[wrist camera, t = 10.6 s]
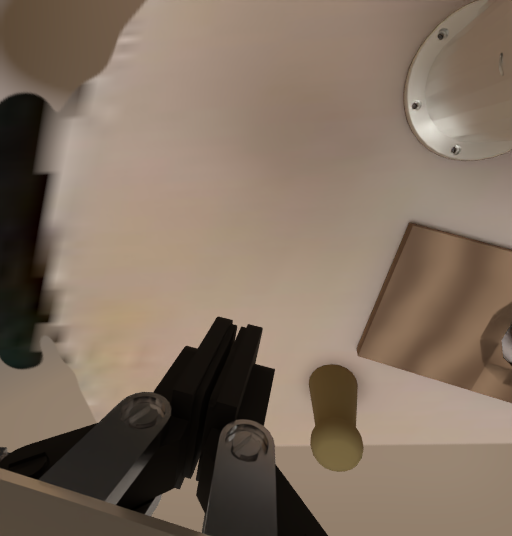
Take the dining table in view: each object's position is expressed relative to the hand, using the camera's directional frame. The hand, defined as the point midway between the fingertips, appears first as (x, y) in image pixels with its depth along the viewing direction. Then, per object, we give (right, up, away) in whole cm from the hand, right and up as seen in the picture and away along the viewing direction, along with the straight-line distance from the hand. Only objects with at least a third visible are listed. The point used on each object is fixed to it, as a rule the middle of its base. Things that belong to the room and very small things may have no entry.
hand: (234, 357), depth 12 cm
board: (+26, -3, +24) cm, 36 cm away
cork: (+11, -12, +31) cm, 34 cm away
